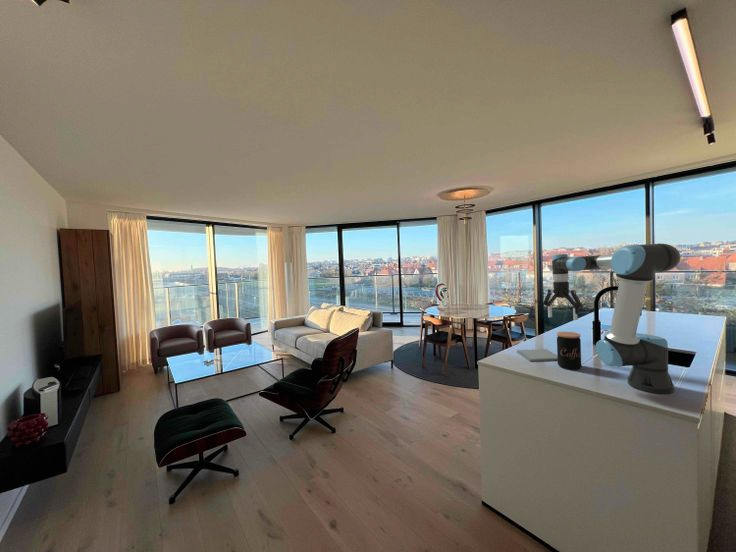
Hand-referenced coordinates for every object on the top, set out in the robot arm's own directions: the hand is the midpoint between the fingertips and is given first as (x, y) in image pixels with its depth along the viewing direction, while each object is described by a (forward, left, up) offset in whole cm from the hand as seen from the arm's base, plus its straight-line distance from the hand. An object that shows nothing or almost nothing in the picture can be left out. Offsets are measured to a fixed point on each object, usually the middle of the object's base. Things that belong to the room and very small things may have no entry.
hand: (562, 318), depth 171 cm
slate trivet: (+9, +10, -24) cm, 28 cm away
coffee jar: (-10, +3, -25) cm, 27 cm away
